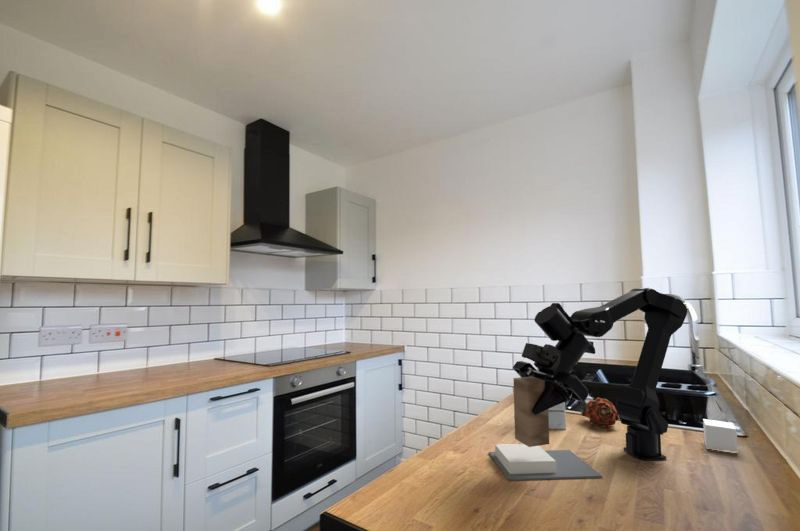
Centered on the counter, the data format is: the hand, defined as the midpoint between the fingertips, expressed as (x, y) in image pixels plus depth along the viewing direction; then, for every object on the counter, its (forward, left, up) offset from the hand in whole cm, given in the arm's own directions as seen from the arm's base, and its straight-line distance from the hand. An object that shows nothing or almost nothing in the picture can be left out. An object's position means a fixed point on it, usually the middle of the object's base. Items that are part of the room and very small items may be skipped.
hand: (525, 409), depth 85 cm
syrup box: (-20, -31, -14) cm, 39 cm away
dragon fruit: (-34, -31, -14) cm, 48 cm away
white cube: (-54, -12, -14) cm, 57 cm away
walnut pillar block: (-1, 0, -7) cm, 7 cm away
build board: (-5, -5, -13) cm, 15 cm away
